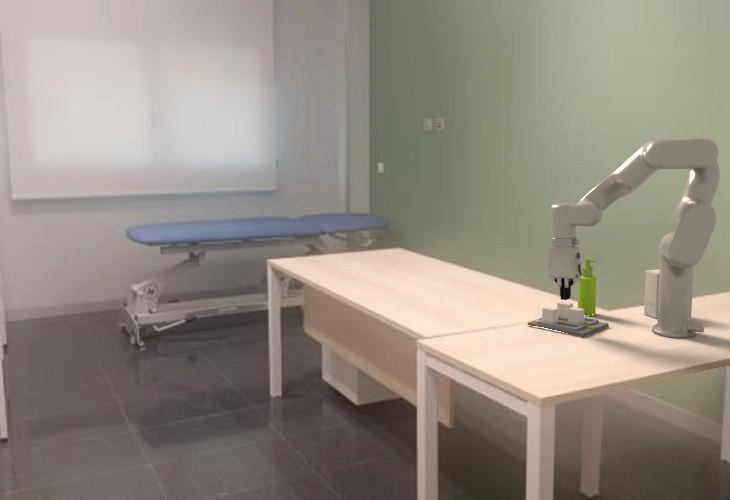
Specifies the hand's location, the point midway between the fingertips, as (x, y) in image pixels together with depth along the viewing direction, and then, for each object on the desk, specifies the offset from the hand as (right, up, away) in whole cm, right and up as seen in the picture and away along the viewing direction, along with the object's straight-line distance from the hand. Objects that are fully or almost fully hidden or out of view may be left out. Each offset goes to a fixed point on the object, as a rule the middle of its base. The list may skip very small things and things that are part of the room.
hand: (565, 298), depth 218 cm
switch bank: (+2, -9, +5) cm, 11 cm away
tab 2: (+3, -7, +11) cm, 13 cm away
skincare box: (+37, -7, +15) cm, 40 cm away
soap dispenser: (+13, -7, +20) cm, 25 cm away
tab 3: (+4, -8, +3) cm, 10 cm away
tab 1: (-4, -8, +5) cm, 10 cm away
